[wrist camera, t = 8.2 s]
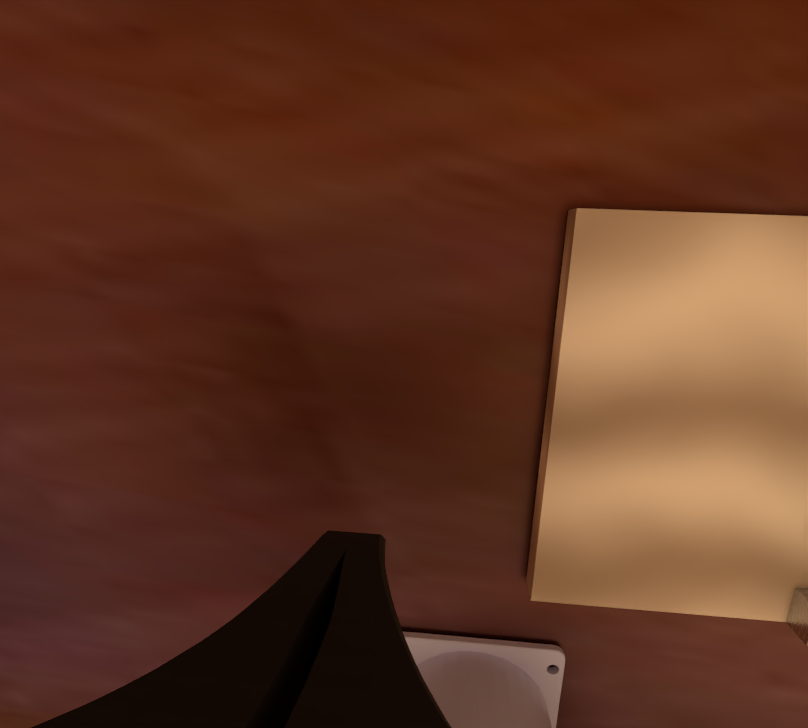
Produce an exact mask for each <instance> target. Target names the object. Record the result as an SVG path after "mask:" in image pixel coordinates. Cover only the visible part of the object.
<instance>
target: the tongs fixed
mask: <svg viewBox="0 0 808 728" xmlns="http://www.w3.org/2000/svg"><path fill="white" fill-rule="evenodd" d="M786 623H787V624H788V625H789V626H790V627H791V629H792V630H793V631H794V632H795V633H796V634H797V635H798V636H799V638H800V639H801V640H802V641H803V642H804V643H805V644H806V645H807V646H808V588H796V587H795V589H794V593H793V597H792V600H791V604H790V608H789V612H788V615H787V619H786Z"/></svg>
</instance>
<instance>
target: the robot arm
mask: <svg viewBox="0 0 808 728" xmlns="http://www.w3.org/2000/svg"><path fill="white" fill-rule="evenodd" d="M550 665H556V666H554V667H548V666H550ZM564 667H565V655H564V652H563V650H562V648H560V647H559V646H556V645H550V644H539V643H527V642H516V641H505V640H494V639H482V638H471V637H460V636H449V635H437V634H426V633H415V632H404V631H402V629H401V626H400V623H399V620H398V617H397V614H396V611H395V608H394V604H393V601H392V597H391V593H390V589H389V585H388V581H387V575H386V570H385V539H384V538H383V536H382V535H379V534H366V533H353V532H340V531H327V532H326V533H325V534H323V535H322V536H321V537H320V539H319V540H318V541H317V542H316V543H315V544H314V545H313V546H312V547H311V548H310V549H309V550H308V551H307V552H306V553H305V554H304V555H303V556H302V557H301V558H300V559H299V560H298V561H297V562H296V563H295V564H294V565H293V566H292V567H291V568H290V569H289V570H288V571H287V572H286V573H285V574H284V575H283V576H282V577H281V578H280V579H279V580H278V581H277V582H276V583H275V584H274V585H272V586H271V587H270V588H269V589H268V590H267V591H266V592H264V593H263V594H262V595H261V596H260V597H259V598H258V599H256V600H255V601H254V602H253V603H252V604H251V605H249V606H248V607H247V608H246V609H245V610H243V611H242V612H241V613H240V614H238V615H237V616H236V617H235V618H233V619H232V620H231V621H229V622H228V623H227V624H225V625H224V626H223V627H221V628H220V629H218V630H217V631H216V632H214V633H213V634H211V635H210V636H208V637H207V638H205V639H204V640H202V641H201V642H199V643H198V644H196V645H195V646H193V647H191V648H190V649H188V650H186V651H185V652H183V653H181V654H180V655H178V656H177V657H175V658H173V659H172V660H170V661H168V662H167V663H165V664H163V665H162V666H160V667H158V668H157V669H155V670H153V671H151V672H149V673H148V674H146V675H144V676H142V677H140V678H138V679H136V680H134V681H133V682H131V683H129V684H127V685H125V686H123V687H121V688H119V689H117V690H115V691H113V692H111V693H109V694H107V695H105V696H103V697H101V698H98V699H96V700H94V701H92V702H90V703H88V704H86V705H83V706H81V707H79V708H76V709H74V710H72V711H69V712H67V713H65V714H62V715H60V716H58V717H55V718H53V719H51V720H48V721H46V722H44V723H41V724H39V725H36V726H34V727H32V728H556V723H557V716H558V709H559V702H560V695H561V688H562V681H563V674H564Z"/></svg>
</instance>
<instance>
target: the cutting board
mask: <svg viewBox="0 0 808 728" xmlns="http://www.w3.org/2000/svg"><path fill="white" fill-rule="evenodd" d="M526 582H527V587H528V591H529V595H530V599H531V601H541V602H553V603H565V604H577V605H589V606H601V607H613V608H625V609H636V610H648V611H660V612H672V613H684V614H696V615H708V616H720V617H732V618H744V619H756V620H768V621H780V622H786V619H787V615H788V612H789V608H790V604H791V600H792V597H793V593H794V589H795V587H796V588H808V216H786V215H757V214H728V213H700V212H671V211H642V210H613V209H585V208H575V209H571V210H568V217H567V226H566V235H565V243H564V252H563V261H562V270H561V279H560V288H559V296H558V305H557V314H556V323H555V332H554V341H553V349H552V358H551V367H550V376H549V385H548V394H547V402H546V411H545V420H544V429H543V438H542V447H541V455H540V464H539V473H538V482H537V491H536V500H535V508H534V517H533V526H532V535H531V544H530V553H529V561H528V570H527V579H526Z"/></svg>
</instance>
